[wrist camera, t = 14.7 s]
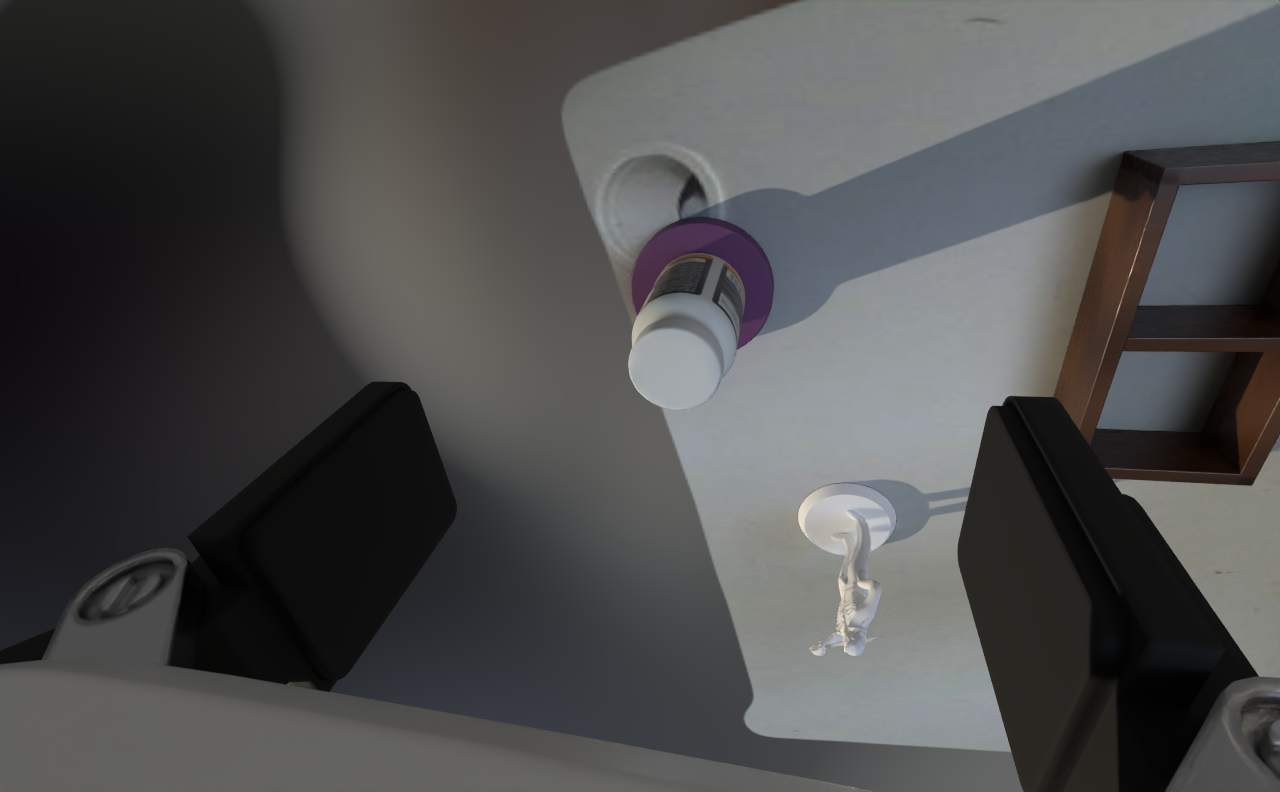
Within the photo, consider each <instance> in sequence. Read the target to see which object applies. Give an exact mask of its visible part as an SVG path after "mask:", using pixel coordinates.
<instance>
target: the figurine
mask: <svg viewBox="0 0 1280 792" xmlns="http://www.w3.org/2000/svg"><path fill="white" fill-rule="evenodd" d="M798 521H799V524H800V527H801V529H802V531H803V532H804V534H805V535H806V536H807V537H808V538H809V539H810V540H811V541H812V542H813V543H814V544H816V545H817V546H818V547H820V548H822V549H823V550H825V551H828V552H831V553H834V554H839V555H845V559H844V562H843V566H842V568H841V571H840V576H839V579H838V581H839V590H840V593H841V595H840V596H841V597H842V600H840V604H841V605H839V606H840V607H839V611H837V612H838V613H839V614H837V616H838V618H836V619H837V621H838V622H836V625H839V626H837V627H836V629H837V631H835V632H833V633H832V634H830V635H829V636H827V637H825V638H823V639H822V640H820V641H819V644H820V645H818V646H815V647H814V645H813V646H812V647H810V648H809V650H810V651H811V652H812V653H813V654H815V655H818V656H822V655H824V654H825V652H826V649H827V648H829V647H835V646H841V645H844V651H845V652H846V653H848V654H850V655H853V656H858V655H860V654H861V653H862V652H863V651H864V649H865V643H866V642H867V641H873V640H876V639H879V638H881V637H884V636H879V637H873V638H867V639H866V631H867V629H868V627H869V625H870V624H871V622H872V620H873V619H874V616H875V614H876V609H877V605H878V602H879V599H880V596H881V593H882V587H881V585H880V583H878V582H877V581H874V580H869V576H868V566H869V558H870V552H871V551H873V550H875V549H876V548H878V547H880V546H881V545H882V544H883V543H884V542H885V541H886V540H887V539H888V538H889V537H890V535H891V534H892V533H893V531H894V528H895V526H896V514H895V510H894V508H893V506H892V504H891V503H890V502H889V500H888V499H887V498H886V497H885V496H883V495H882V494H881V493H880V492H878V491H876V490H874V489H872V488H869V487H866V486H863V485H859V484H853V483H839V484H831V485H828V486H824V487H822V488H820V489H818V490H815V491H814V492H813V493H811V494H810V495H808V496H807V498H806V499H805V500H804V501H803V503H802V504H801V506H800V509H799V513H798ZM868 590H869V594H868V596H867V592H868ZM840 641H843V642H842V643H838V642H840ZM835 643H836V644H835ZM814 650H815V651H814Z"/></svg>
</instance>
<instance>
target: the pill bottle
mask: <svg viewBox="0 0 1280 792" xmlns="http://www.w3.org/2000/svg"><path fill="white" fill-rule="evenodd" d="M744 307H745V291H744V286H743V283H742V281H741V279H740V277H739V275H738V273H737V272H736V271H735V270H734V269H733V267H732V266H731V265H730V264H728V263H727V262H726V261H724V260H723V259H721V258H719V257H717V256H714V255H710V254H705V253H692V254H686V255H683V256H681V257H678V258H677V259H675V260H673V261H672V262H670V263H669V264H668V265H667V266H666V267H665V268H664V269H663V271H662V272H661V273H660V275H659V277H658V278H657V280H656V282H655V284H654V286H653V288H652V290H651V292H650V294H649V295H648V297H647V299H646V301H645V303H644V305H643V307H642V308H641V310H640V312H639V314H638V316H637V318H636V320H635V323H634V326H633V330H632V346H633V347H632V350H631V352H630V355H629V362H628V367H629V374H630V377H631V380H632V382H633V384H634V386H635V387H636V389H637V390H638V391H639V392H640V394H642V396H644V397H645V398H646V399H647V400H649V401H651V402H652V403H654V404H656V405H658V406H661V407H664V408H667V409H673V410H684V409H690V408H694V407H697V406H699V405H701V404H703V403H704V402H706V401H707V400H708V399H710V398H711V397H712V395H713V394H714V393H715V392H716V390H717V388H718V386H719V384H720V381H721V379H722V378H723V377H724V376H725V374H726V373H727V372H728V370H729V369H730V367H731V366H732V364H733V361H734V358H735V355H736V351H737V344H738V338H739V333H740V327H741V323H742V318H743V312H744Z"/></svg>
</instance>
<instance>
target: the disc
mask: <svg viewBox="0 0 1280 792" xmlns="http://www.w3.org/2000/svg"><path fill="white" fill-rule="evenodd" d="M692 253H705V254H710V255H714V256H717V257H719V258H721V259H723V260H724V261H726V262H727V263H728V264H730V265H731V266H732V267H733V269H734V270H735V271H736V272H737V273H738V275H739V277H740V279H741V281H742V283H743V286H744V291H745V307H744V312H743V318H742V323H741V327H740V333H739V338H738V344H737V349H739V348H741V347H742V346H744V345H746V344H747V343H748V342H749V341H751V340H752V339H753V338H754V337H755V336H756V335H757V334H758V333H759V331H760V330H761V329H762V327H763V326H764V324H765V322H766V320H767V318H768V316H769V313H770V310H771V306H772V301H773V290H774V282H773V274H772V269H771V266H770V263H769V261H768V259H767V257H766V255H765V253H764V251H763V250H762V248H761V247H760V246H759V244H758V243H757V242H756V241H755V240H754V239H753V238H752V237H751V236H750V235H749V234H747V233H746V232H745V231H744V230H742V229H740V228H739V227H737V226H735V225H733V224H731V223H728V222H726V221H722V220H719V219H713V218H690V219H685V220H681V221H678V222H675V223H673V224H670V225H669V226H667V227H665V228H663V229H662V230H661V231H659V232H658V233H657V234H655V235H654V236H653V237H652V238H651V240H650V241H649V242H648V243H647V244H646V246H645V247H644V249H643V250H642V251H641V253H640V255H639V256H638V258H637V260H636V262H635V265H634V268H633V271H632V276H631V285H630V289H631V298H632V304H633V307H634V310H635V312H636V314H637V316H638V314H639V312H640V310H641V308H642V307H643V305H644V303H645V301H646V299H647V297H648V295H649V294H650V292H651V290H652V288H653V286H654V284H655V282H656V280H657V278H658V277H659V275H660V273H661V272H662V271H663V269H664V268H665V267H666V266H667V265H668V264H669V263H670V262H672V261H673V260H675V259H677V258H678V257H681V256H683V255H686V254H692Z"/></svg>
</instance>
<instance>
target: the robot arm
mask: <svg viewBox="0 0 1280 792" xmlns="http://www.w3.org/2000/svg"><path fill="white" fill-rule="evenodd" d="M456 512H457V505H456V500H455V497H454V495H453V492H452V489H451V486H450V483H449V480H448V477H447V475H446V472H445V469H444V466H443V463H442V460H441V458H440V455H439V452H438V449H437V446H436V444H435V441H434V438H433V435H432V432H431V429H430V427H429V424H428V421H427V418H426V416H425V412H424V409H423V407H422V404H421V401H420V398H419V396H418V394H417V393H416V392H415V391H412V390H411V388H410V387H409V386H408V385H407V384H405V383H403V382H371V383H370V384H368V385H367V386H365V387H364V388H363V389H362V390H361V391H360V392H358V393H357V394H356V395H355V396H354V397H353V398H351V399H350V400H349V401H348V402H347V403H345V404H344V405H343V406H342V407H341V408H339V409H338V410H337V411H336V412H335V413H333V414H332V415H331V416H330V417H329V418H328V419H326V420H325V421H324V422H323V423H322V424H320V425H319V426H318V427H317V428H316V429H314V430H313V431H312V432H311V433H310V434H309V435H307V436H306V437H305V438H304V439H303V440H301V441H300V442H299V443H298V444H297V445H295V446H294V447H293V448H292V449H291V450H290V451H288V452H287V453H286V454H285V455H284V456H283V457H281V458H280V459H279V460H278V461H276V462H275V463H274V464H273V465H272V466H271V467H269V468H268V469H267V470H266V471H265V472H263V473H262V474H261V475H260V476H259V477H257V478H256V479H255V480H254V481H253V482H252V483H250V484H249V485H248V486H247V487H246V488H244V489H243V490H242V491H241V492H240V493H239V494H237V495H236V496H235V497H234V498H233V499H231V500H230V501H229V502H228V503H227V504H226V505H224V506H223V507H222V508H221V509H220V510H218V511H217V512H216V513H215V514H214V515H212V516H211V517H210V518H209V519H208V520H207V521H205V522H204V523H203V524H202V525H201V526H199V527H198V528H197V529H196V530H195V531H194V532H192V533H191V534H190V535H189V536H188V538H189V540H190V541H191V543H192V544H193V546H194V547H195V548H196V550H197V551H198V553H199V554H200V556H199V557H198V558H197V559H196V560H195V561H194V562H193V563H190V561H189V560H188V559H187V557H186V556H185V555H184V554H183V553H182V552H181V551H179V550H175V549H170V548H168V549H156V550H152V551H148V552H145V553H141V554H137V555H135V556H133V557H130V558H128V559H126V560H123V561H121V562H119V563H117V564H115V565H114V566H112V567H110V568H108V569H106V570H105V571H103V572H102V573H100V574H99V575H97V576H96V577H94V578H93V579H92V580H90V581H89V582H88V583H87V584H85V585H84V586H83V587H82V588H81V589H80V590H79V591H78V592H77V593H76V594H75V595H74V596H73V597H72V599H71V600H70V601H69V603H68V604H67V606H66V608H65V609H64V611H63V614H62V616H61V618H60V620H59V623H58V625H57V627H56V628H55V629H52V630H50V631H47V632H45V633H42V634H40V635H38V636H35V637H33V638H30V639H28V640H25V641H23V642H21V643H18V644H16V645H13V646H11V647H8V648H6V649H3V650H1V651H0V792H873V791H868V790H863V789H858V788H853V787H848V786H843V785H838V784H834V783H829V782H823V781H818V780H812V779H807V778H802V777H796V776H790V775H785V774H780V773H775V772H769V771H764V770H758V769H753V768H747V767H742V766H737V765H731V764H726V763H721V762H715V761H710V760H704V759H699V758H693V757H688V756H683V755H677V754H672V753H666V752H661V751H656V750H650V749H645V748H639V747H633V746H629V745H623V744H618V743H612V742H607V741H601V740H595V739H590V738H585V737H579V736H574V735H568V734H562V733H557V732H551V731H546V730H540V729H535V728H529V727H523V726H518V725H512V724H507V723H501V722H496V721H490V720H485V719H479V718H473V717H468V716H462V715H457V714H451V713H445V712H439V711H434V710H429V709H423V708H417V707H412V706H406V705H400V704H395V703H389V702H384V701H378V700H371V699H366V698H360V697H354V696H349V695H343V694H337V693H332V692H330V690H331V689H332V687H333V686H334V684H335V683H336V682H337V680H339V679H341V678H343V677H344V676H346V675H347V674H348V673H349V671H350V670H351V669H352V667H353V666H354V664H355V663H356V662H357V660H358V659H359V657H360V656H361V654H362V653H363V651H364V650H365V649H366V647H367V646H368V644H369V643H370V641H371V640H372V638H373V637H374V635H375V634H376V633H377V631H378V630H379V628H380V627H381V625H382V624H383V623H384V621H385V620H386V618H387V617H388V615H389V614H390V612H391V611H392V610H393V608H394V607H395V605H396V604H397V602H398V601H399V600H400V598H401V597H402V595H403V594H404V592H405V591H406V589H407V588H408V586H409V585H410V583H411V582H412V581H413V579H414V578H415V576H416V575H417V574H418V572H419V571H420V569H421V568H422V566H423V565H424V563H425V562H426V561H427V559H428V558H429V556H430V555H431V553H432V552H433V551H434V549H435V548H436V546H437V545H438V543H439V542H440V540H441V539H442V538H443V536H444V535H445V533H446V532H447V530H448V529H449V527H450V526H451V525H452V523H453V521H454V519H455V517H456ZM958 563H959V568H960V571H961V575H962V578H963V582H964V586H965V589H966V593H967V596H968V600H969V603H970V607H971V610H972V614H973V617H974V621H975V624H976V628H977V631H978V635H979V638H980V642H981V646H982V649H983V653H984V656H985V660H986V663H987V667H988V670H989V674H990V677H991V681H992V684H993V688H994V691H995V695H996V699H997V702H998V706H999V709H1000V713H1001V716H1002V720H1003V723H1004V727H1005V730H1006V734H1007V737H1008V741H1009V744H1010V748H1011V752H1012V755H1013V759H1014V762H1015V766H1016V769H1017V773H1018V776H1019V780H1020V783H1021V786H1022V789H1023V791H1024V792H1280V678H1273V677H1259V676H1258V674H1257V673H1256V671H1255V670H1254V668H1253V667H1252V666H1251V664H1250V663H1249V661H1248V660H1247V658H1246V657H1245V655H1244V654H1243V653H1242V651H1241V650H1240V648H1239V647H1238V645H1237V644H1236V642H1235V641H1234V640H1233V638H1232V637H1231V635H1230V634H1229V632H1228V631H1227V629H1226V628H1225V626H1224V625H1223V624H1222V622H1221V621H1220V619H1219V618H1218V616H1217V615H1216V613H1215V612H1214V611H1213V609H1212V608H1211V606H1210V605H1209V603H1208V602H1207V600H1206V599H1205V598H1204V596H1203V595H1202V593H1201V592H1200V590H1199V589H1198V587H1197V586H1196V585H1195V583H1194V582H1193V580H1192V579H1191V577H1190V576H1189V574H1188V573H1187V571H1186V570H1185V569H1184V567H1183V566H1182V564H1181V563H1180V561H1179V560H1178V558H1177V557H1176V556H1175V554H1174V553H1173V551H1172V550H1171V548H1170V547H1169V545H1168V544H1167V543H1166V541H1165V540H1164V538H1163V537H1162V535H1161V534H1160V532H1159V531H1158V530H1157V528H1156V527H1155V525H1154V524H1153V522H1152V521H1151V519H1150V518H1149V516H1148V515H1147V514H1146V512H1145V511H1144V509H1143V508H1142V506H1141V505H1140V504H1139V503H1138V502H1137V501H1136V500H1135V499H1134V498H1132V497H1130V496H1128V495H1126V494H1121V492H1120V491H1119V489H1118V488H1117V486H1116V485H1115V483H1114V482H1113V480H1112V479H1111V477H1110V476H1109V474H1108V473H1107V471H1106V470H1105V468H1104V467H1103V465H1102V464H1101V462H1100V461H1099V459H1098V458H1097V456H1096V455H1095V453H1094V452H1093V450H1092V449H1091V447H1090V446H1089V444H1088V443H1087V441H1086V440H1085V438H1084V437H1083V435H1082V434H1081V432H1080V431H1079V429H1078V428H1077V426H1076V425H1075V423H1074V422H1073V420H1072V419H1071V417H1070V416H1069V414H1068V413H1067V411H1066V410H1065V408H1064V407H1063V405H1062V404H1061V402H1060V401H1059V400H1058V399H1057V398H1054V397H1025V396H1009V397H1007V398H1006V399H1005V401H1004V403H1003V406H992V407H990V409H989V411H988V414H987V418H986V422H985V427H984V431H983V435H982V440H981V444H980V449H979V453H978V458H977V462H976V466H975V471H974V475H973V480H972V484H971V488H970V493H969V497H968V502H967V506H966V510H965V515H964V519H963V524H962V528H961V532H960V537H959V542H958ZM287 684H288V685H287Z"/></svg>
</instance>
